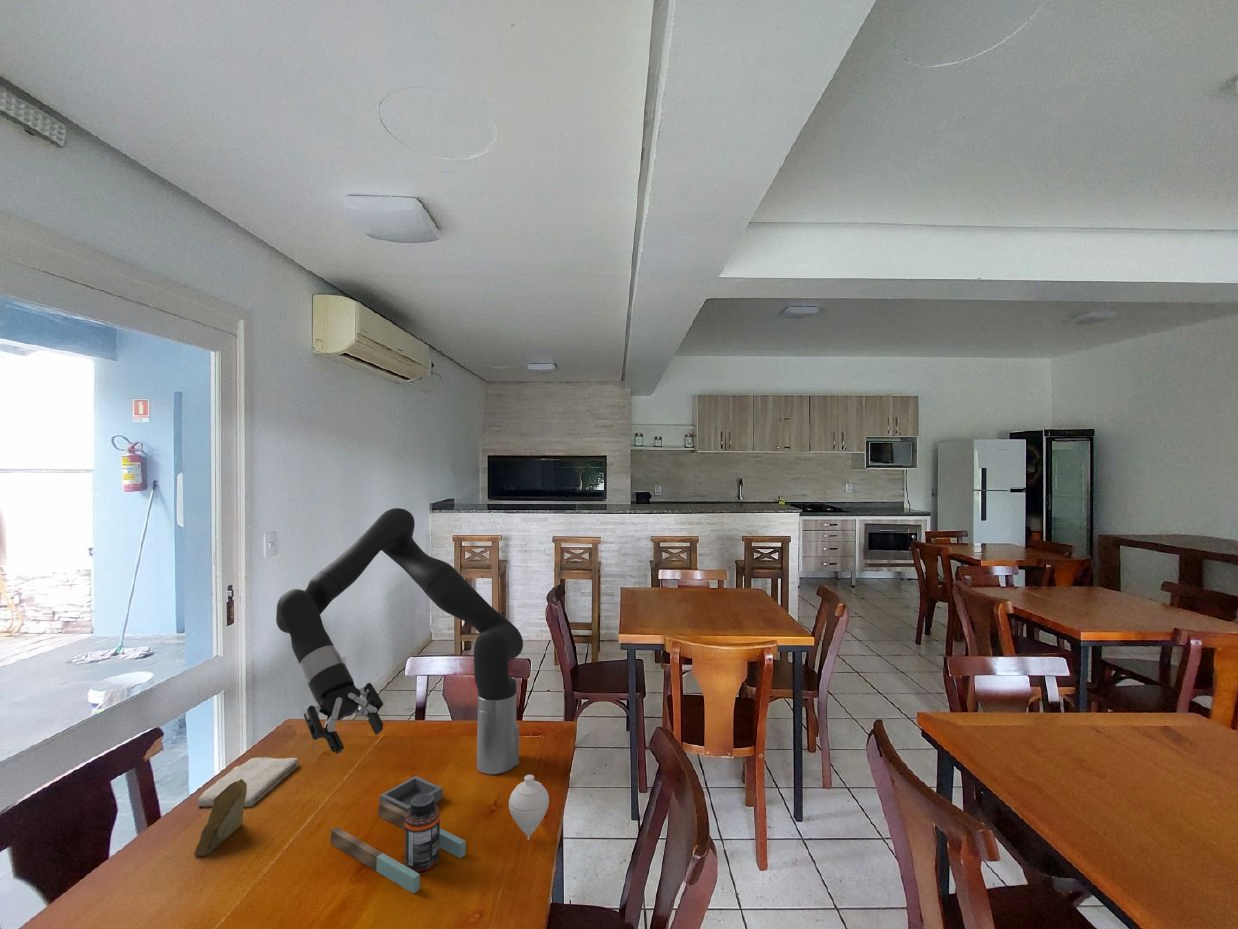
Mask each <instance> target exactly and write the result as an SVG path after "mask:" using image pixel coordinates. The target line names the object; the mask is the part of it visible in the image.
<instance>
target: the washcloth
mask: <svg viewBox="0 0 1238 929" xmlns="http://www.w3.org/2000/svg"><path fill="white" fill-rule="evenodd" d="M298 763H299V759H298V758H297V757H286V758H274V757H268V756H266V757H265V756H263V757H252V758H249V759H248V760H247V761H245V762H244V763H242V764H241V765H238V766H236V765H235V766H234V767H233V768H232V770H231V771H229V772H228V773H227V774H226V775H224V776H222V777H221V778H219V779H218V780H217V781H216V782H215V783H214V784H212V785H211V786H210V787H208V788H207V789H206V790H204V791H203V793H201V795H200V796H199V797H198V799H197V802H196V803H197V806H200V807H203V808H204V807H207V808H213V801H214V798H215V797H217V796H218V795H219V794H220V793H221V792H222V791H223V790H225V788H227V787H228V786H229V785H230V784H232V783H234V782H235V781H239V780H240V779H242V780H243V781H244V782H245V783H246V784H247V793H246V798H245V802H244V807H243V808H250V807H253V806H255V805H256V803H257V802H259V801H260V800H261V799H262V798H264V797H265V795H266V794H268V793H269V792H270V791H272V790H273V788H275V787H276V786H277V785H278V784H279V783H280V782H281V781H283V780H284V779H285V778H286V777H288V776H289V775H290V774H291V773H292V772H293V771H294V770H296V769H297V768H298V767H299V764H298Z"/></svg>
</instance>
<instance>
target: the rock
mask: <svg viewBox="0 0 1238 929" xmlns="http://www.w3.org/2000/svg"><path fill="white" fill-rule="evenodd" d="M246 793H247V784H246V783H245V782H244V781H243V780H242V779H240V780H239V781H235V782H234V783H232V784H230V785H229V786H228V787H227V788H225V790H223V791H222V792H221V793H220V794H219V795H218V796H217V797H215V798H214V801H213V807H212V809H211V811H210V813H209V817H208V818H207V819H208V821H207V822H206V825H204V828H203V829H202V831H201V834H200V836H199V837H200V838H199V841H198V843H197V845H196V848H195V851H194V853H193V855H194V856H201V857H203V856H204V857H205V856H207V855H209V854H210V853H211V852H212V851H213V850H214V849H216V848H217V847H218V846H220V844H221V843H222V842H223V841H224V840H226V839H228V838H229V837H230V836H231V835H232V834H233V833H234V832H235V831H236V830H237V829H239V828H240V827H241V826H242V824H243V821H244V808H245V807H244V802H245V798H246Z"/></svg>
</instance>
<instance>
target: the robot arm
mask: <svg viewBox="0 0 1238 929" xmlns="http://www.w3.org/2000/svg"><path fill="white" fill-rule="evenodd" d="M414 530H415V518H414V515H413V514H412V513H411V512H410V511H409V510H407V509H404V508H400V507H395V508H390V509H388V510H386V511H384V512H383V513H382V514H381V515H380V516H379V517H378V518H377V519H376V520H375V521H374V523H373V524H371V526H370V527H369V528H368V529H367V530H366V531H365V532H364V533H363V534H362V535H361V536H360V537H359V538H358V539H357V540H356V541H355V542H354V543H352V544H351V545H350V546H349V547H348V548H347V549H346V550H345V551H344V552H343V553H342V554H340V555H339V556H338V557H337V558H335V559H334V560H332V562H331V563H329V564H328V565H327V566H326V567H324V568H323V569H322V570H320V571H319V572H317V573H316V574H315V575H314V576H313V577H312V578H311V579H310V580H309V582H308V585H307V587H306V588H305V589H300V588H295V589H293V588H292V589H290V590H288V591H286V592H284V593H283V594H282V595H281V596H280V597H279V599H278V601H277V604H276V616H275V621H276V625H277V627H278V628H279V630H280V631H281V632H284V633H286V634H289V636H290V640H291V641H290V642H291V648H292V652H293V653H294V656H295V658H296V660H297V663H298V664H299V666H300V669H301V672H302V675H303V678H304V679H305V680H304V681H306V684H307V686H308V688H309V690H310V693H311V694H312V696H313V699H314V700H315V702H316V703H317V705H316V706H315V705H309V706H308V708H307V709H306V710H305V712H304V713H303V717H304V719H305V723H306V724H307V729H308V730H309V732H310V735H311V738H312V739H313V740H315V741H316V740H318V739H325V740H326V742H327V744H328V746H329V748H330V750H331V752H332V753H335V755H338V754H340V753H342V751H343V750H344V748H345V747H344V744H343V742H342V740H341V738H340V736H339V733H338V731H337V730H335V727H336V722H337V721H341V720H342V719H344V718H346V717H350V716H352V715H353V714H355V715H357V716H362V717H365V718H366V719H367V722H368V723H369V725H370V727H371V729H372V730H373V733H374V735H376V736H377V735H378V734H380V733H381V732H383V730H384V723H383V720H382V718H381V717H380V714H379V713H378V712H380V710H381V709H382V707H383V706H384V702H383V701H382V699H381V697H380V696H379V694H378V692H377V690H376V689H375V688H374V686H373V684H372V683H371V682H367V683H366V685H365V686H363V687H360V688H358V687H356V686H355V682H354V679H353V677H352V675H351V673H350V672H349V669H348V667H347V665H346V663H345V661H344V660H343V658H342V656H341V654H340V652H339V651H338V650H337V649H336V647H335V645H334V643H333V641H332V639H331V638H330V635H329V634H328V633H327V631H326V629H325V627H324V624H323V620H322V617H321V614H322V613H323V612H324V611H325V610H326V609H327V607H328V606H329V605H330V604H331V603H332V601H333V600H335V599H336V598H337V597H339V596H340V595H341V594H342V593H344V591H345V590H347V589H348V588H349V587H350V586H351V585H353V584H354V582H356V581H357V580H358V578H360V576H361V575H362V574H363V572H365V570H366V569H367V568H368V567H369V565H370V564H371V563H372V561H373V560H374V559H375V557H376V556H377V555H378V554H379V553H380V552H381V551H382V552H383V553H384V554H385V555H387V556H388V557H389V558H390V559H391V560H392V561H394V562H395V563H396V564H397V565H398V566H399V567H401V568H402V569H403V570H404V571H405V573H407V575H408V576H409V577H410V578H411V579H412V580H413V581H414V582H415V583H416V584H417V585H418V586H419V587H420V588H421V590H422V591H423V592H424V593H425V595H427V596H428V598H429V599H430V600H431V601H432V602H433V604H435V605H436V607H438V609H440V610H442V611H444V612H445V613H447V614H449V615H450V616H453V617H455V618H456V619H459V620H461V621H463V622H465V623H467V624H469V625H471V627H473V628H474V629H475V630H476V632H478V633H479V635H478V636H477V637H476V640H475V642H474V647H473V668H474V669H473V671H474V682H475V686H476V688H477V725H476V726H477V727H476V728H477V730H476V731H477V732H476V734H477V735H476V738H477V739H476V769H477V770H478V771H479V772H480V773H483V774H486V775H499V774H504V773H506V772H509V771H510V770H513V768H515V766H519V764H520V759H519V758H520V724H519V723H518V722H517V690H518V689H517V688H518V687H517V681H516V679H515V678H514V677H512V676H509V662H511V661H513V660H514V659H515V658H517V657H518V656H519V655H520V654H521V653H522V651H523V648H524V640H523V636H522V634H521V632H520V631H519V629H518V628H517V627H516V626H515V625H514V624H513V623H512V622H511V621H510V620H508V619H507V618H506V617H504V615H502V614H501V613H500V612H499V611H497V610H495V608H494V607H492V605H490V604H489V603H488V602H487V601H486V600H485V599H484V598H483V596H481V595H480V594H479V593H478V591H476V590H475V589H474V588H473V587H472V585H470V583H469V582H468V581H467V580H466V579H465V578H464V577H463V576H462V575H461V573H459V572H458V571H457V570H456V568H455V567H454V566H452V565H451V564H450V563H448V562H447V561H443V560H441V559H438V558H435V557H432V556H430V555H428V553H426V552H424V551H423V549H421V547H420V546H419V545H418V544H417V542H416V541H415V540H414V538H413V536H414V532H415V531H414ZM365 699H366V700H365ZM320 713H321V714H322V715H325V716H326V719H325V723H324V727H323V725H322V722H321V719H320V717H319V715H320ZM334 730H335V731H334Z"/></svg>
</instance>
